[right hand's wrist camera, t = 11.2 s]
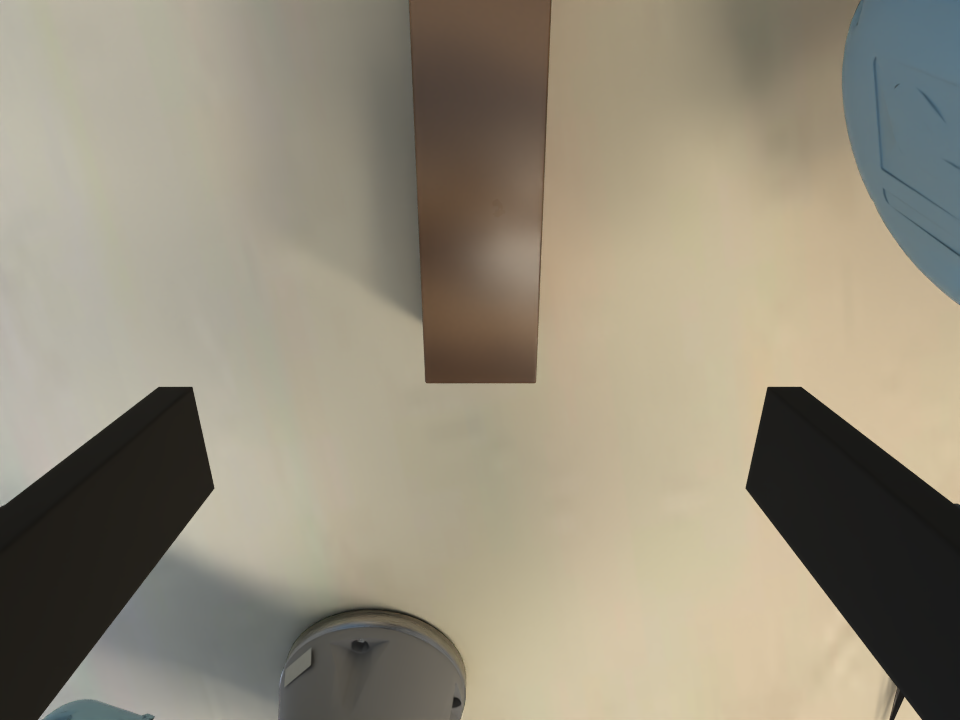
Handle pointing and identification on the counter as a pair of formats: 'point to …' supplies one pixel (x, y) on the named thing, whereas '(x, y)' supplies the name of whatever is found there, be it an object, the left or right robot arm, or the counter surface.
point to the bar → (480, 183)
